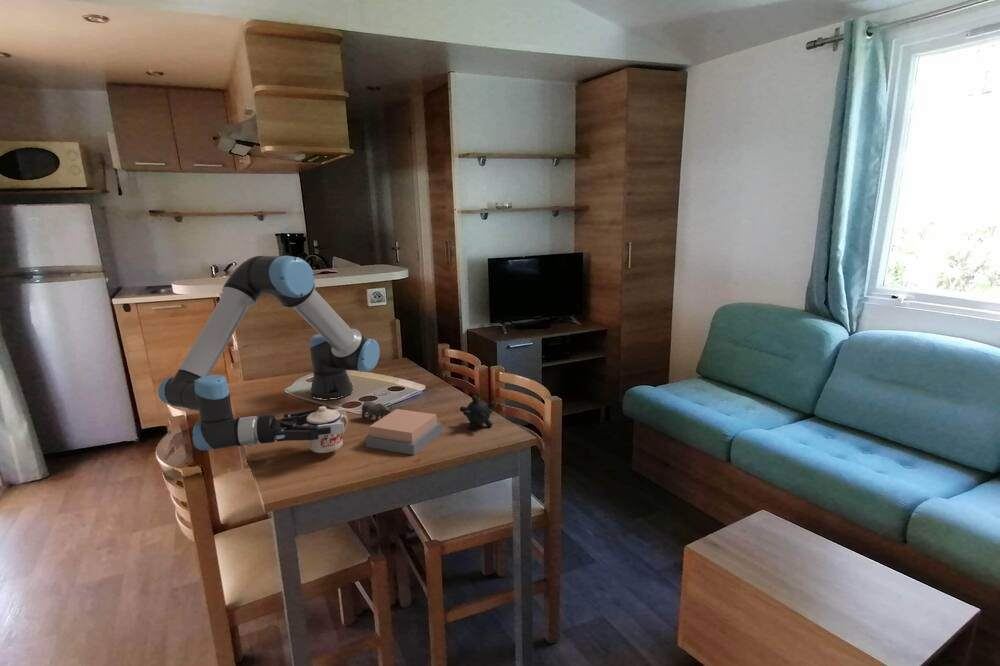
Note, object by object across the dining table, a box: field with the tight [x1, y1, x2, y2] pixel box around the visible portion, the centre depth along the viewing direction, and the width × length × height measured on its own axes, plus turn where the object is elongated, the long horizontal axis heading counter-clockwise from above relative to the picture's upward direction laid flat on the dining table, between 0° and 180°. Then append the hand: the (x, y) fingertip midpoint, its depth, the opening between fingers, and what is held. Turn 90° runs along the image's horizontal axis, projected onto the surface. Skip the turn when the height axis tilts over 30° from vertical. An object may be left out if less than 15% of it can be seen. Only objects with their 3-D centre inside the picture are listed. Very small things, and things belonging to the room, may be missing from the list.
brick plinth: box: [364, 408, 443, 456], centre depth 154 cm, size 16×16×6 cm
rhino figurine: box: [361, 400, 393, 423], centre depth 169 cm, size 4×14×6 cm, turn 62°
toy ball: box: [459, 394, 496, 431], centre depth 162 cm, size 11×11×12 cm
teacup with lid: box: [306, 405, 349, 454], centre depth 146 cm, size 12×9×12 cm
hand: (344, 420), depth 146 cm, fingers closed on teacup with lid, 10 cm apart
